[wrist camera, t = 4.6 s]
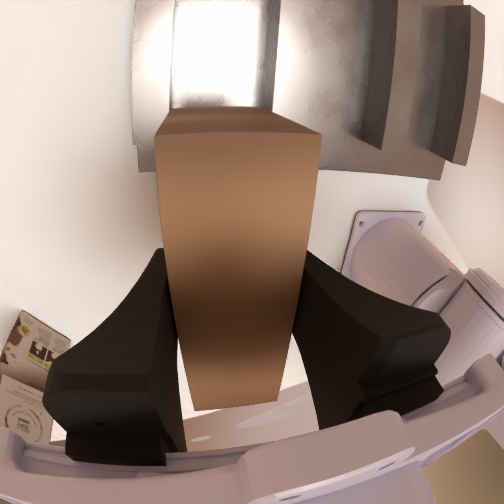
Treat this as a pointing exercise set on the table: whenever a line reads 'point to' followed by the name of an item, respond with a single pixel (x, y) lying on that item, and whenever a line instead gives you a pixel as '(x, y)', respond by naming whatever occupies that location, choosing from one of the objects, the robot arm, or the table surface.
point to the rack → (319, 74)
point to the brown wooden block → (234, 243)
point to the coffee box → (28, 377)
